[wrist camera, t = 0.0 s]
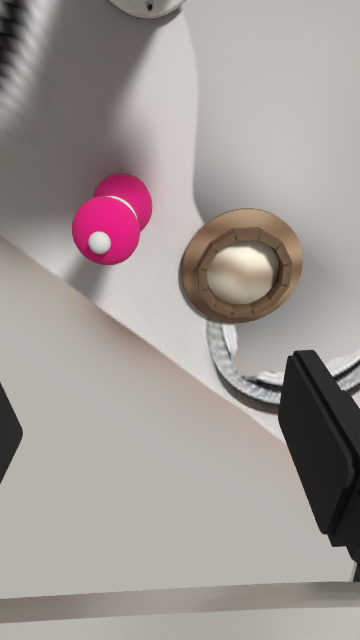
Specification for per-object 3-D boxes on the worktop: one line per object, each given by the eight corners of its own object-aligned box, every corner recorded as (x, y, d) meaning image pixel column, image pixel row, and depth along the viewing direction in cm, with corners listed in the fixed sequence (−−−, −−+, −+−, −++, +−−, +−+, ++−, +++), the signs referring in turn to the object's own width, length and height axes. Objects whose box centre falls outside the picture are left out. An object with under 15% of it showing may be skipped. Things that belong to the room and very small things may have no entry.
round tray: (179, 212, 43) (180, 217, 40) (308, 204, 43) (318, 209, 40) (184, 322, 52) (185, 332, 49) (290, 316, 52) (297, 326, 49)
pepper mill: (143, 234, 44) (127, 298, 27) (94, 215, 42) (43, 270, 25) (161, 183, 41) (155, 220, 24) (107, 160, 39) (60, 182, 22)
